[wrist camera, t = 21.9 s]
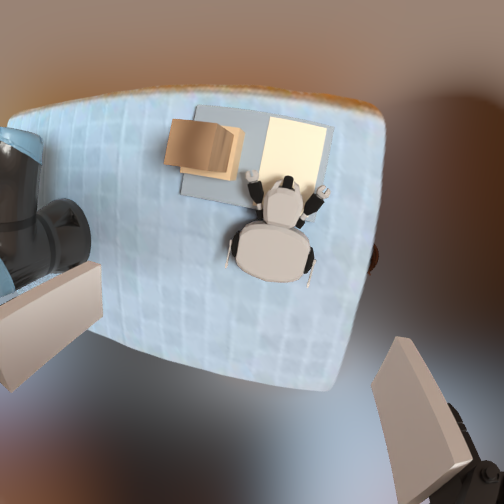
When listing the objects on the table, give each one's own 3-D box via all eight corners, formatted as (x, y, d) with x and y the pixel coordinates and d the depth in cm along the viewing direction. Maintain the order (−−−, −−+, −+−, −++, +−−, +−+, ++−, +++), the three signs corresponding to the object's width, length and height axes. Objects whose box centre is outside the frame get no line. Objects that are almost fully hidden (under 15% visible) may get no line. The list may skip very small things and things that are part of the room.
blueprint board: (183, 194, 41) (169, 196, 36) (200, 106, 37) (188, 97, 32) (313, 221, 39) (316, 227, 34) (333, 128, 35) (338, 121, 30)
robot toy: (247, 164, 37) (230, 261, 43) (240, 166, 33) (222, 273, 39) (333, 184, 36) (307, 279, 42) (337, 188, 32) (307, 293, 38)
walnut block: (190, 166, 35) (163, 164, 27) (197, 129, 33) (172, 118, 26) (226, 172, 34) (207, 171, 27) (234, 135, 33) (217, 123, 25)
